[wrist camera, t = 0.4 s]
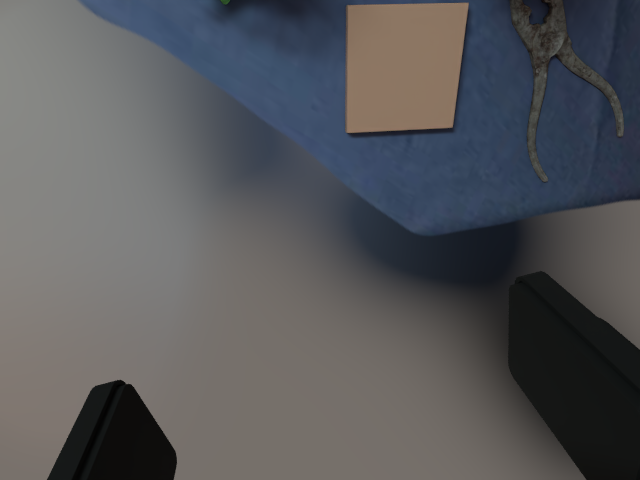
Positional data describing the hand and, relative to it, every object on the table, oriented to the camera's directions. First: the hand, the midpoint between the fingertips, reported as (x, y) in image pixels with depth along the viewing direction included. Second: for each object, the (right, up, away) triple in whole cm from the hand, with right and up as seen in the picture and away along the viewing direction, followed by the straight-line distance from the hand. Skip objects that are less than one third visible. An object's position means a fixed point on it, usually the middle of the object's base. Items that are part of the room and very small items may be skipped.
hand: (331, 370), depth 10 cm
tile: (+7, +18, +25) cm, 32 cm away
